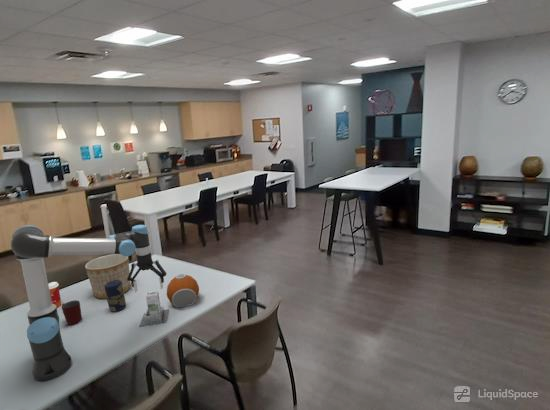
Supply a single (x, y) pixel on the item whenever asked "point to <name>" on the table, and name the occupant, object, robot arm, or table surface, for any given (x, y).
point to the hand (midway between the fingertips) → (149, 289)
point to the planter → (108, 272)
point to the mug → (72, 312)
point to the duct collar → (154, 318)
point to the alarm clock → (182, 290)
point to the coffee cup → (55, 293)
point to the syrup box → (153, 303)
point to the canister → (115, 295)
